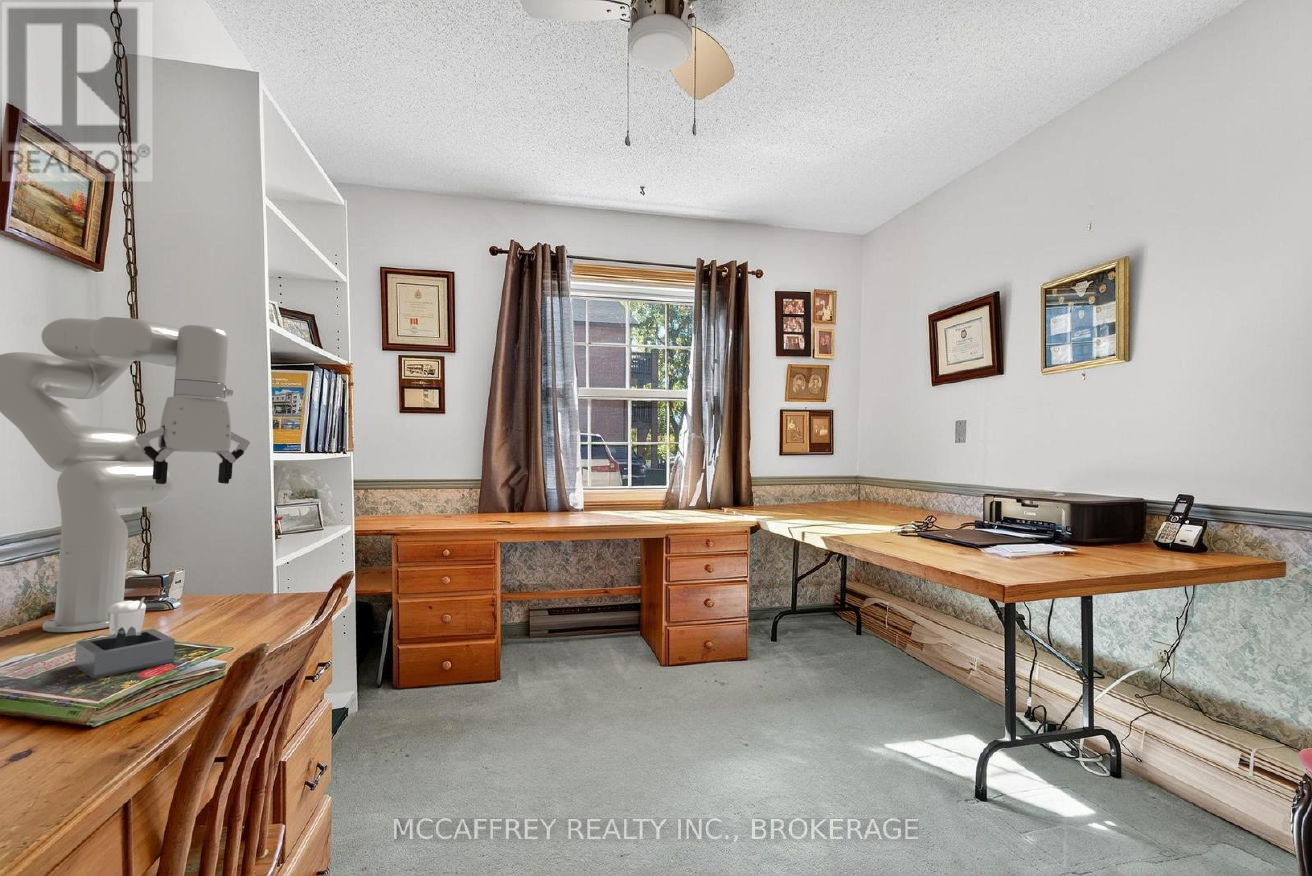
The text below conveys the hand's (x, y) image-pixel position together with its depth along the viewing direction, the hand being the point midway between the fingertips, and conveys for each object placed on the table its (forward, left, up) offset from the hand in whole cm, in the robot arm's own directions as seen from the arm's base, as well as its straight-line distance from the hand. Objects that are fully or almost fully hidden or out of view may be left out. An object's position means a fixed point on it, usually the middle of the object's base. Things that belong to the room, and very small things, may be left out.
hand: (193, 483), depth 109 cm
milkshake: (+10, -11, -28) cm, 31 cm away
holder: (+10, -11, -28) cm, 32 cm away
